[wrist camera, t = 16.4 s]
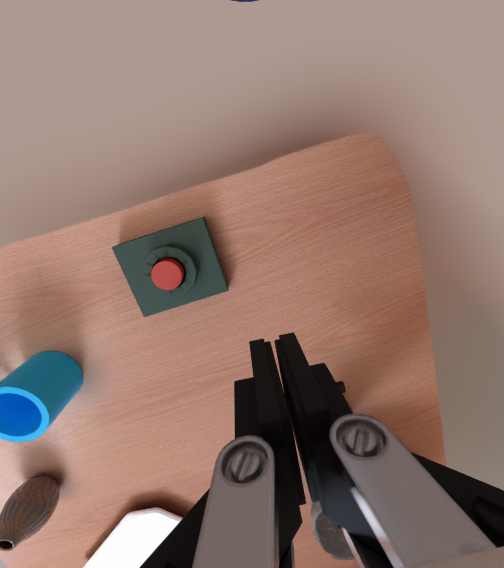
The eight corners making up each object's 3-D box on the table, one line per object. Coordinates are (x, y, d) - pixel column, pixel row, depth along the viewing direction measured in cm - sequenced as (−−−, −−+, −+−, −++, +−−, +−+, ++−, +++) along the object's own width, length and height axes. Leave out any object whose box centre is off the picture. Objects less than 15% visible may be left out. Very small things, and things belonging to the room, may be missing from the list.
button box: (204, 216, 37) (200, 218, 33) (228, 285, 40) (228, 294, 36) (118, 244, 37) (105, 249, 33) (148, 311, 40) (139, 322, 36)
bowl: (406, 438, 50) (438, 481, 42) (385, 510, 55) (410, 560, 47) (308, 437, 48) (322, 482, 41) (295, 511, 53) (306, 564, 46)
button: (178, 254, 34) (175, 257, 33) (188, 281, 35) (186, 285, 34) (150, 263, 34) (146, 266, 33) (161, 289, 35) (158, 294, 34)
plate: (141, 489, 49) (137, 502, 47) (254, 538, 55) (254, 552, 52) (75, 571, 54) (68, 586, 52) (184, 609, 59) (182, 624, 57)
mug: (67, 344, 40) (28, 378, 33) (92, 389, 43) (61, 431, 35) (-11, 366, 41) (-69, 406, 33) (18, 410, 43) (-29, 457, 35)
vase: (21, 496, 48) (-24, 558, 39) (25, 465, 46) (-21, 524, 38) (63, 502, 49) (28, 565, 40) (69, 473, 47) (34, 532, 39)
